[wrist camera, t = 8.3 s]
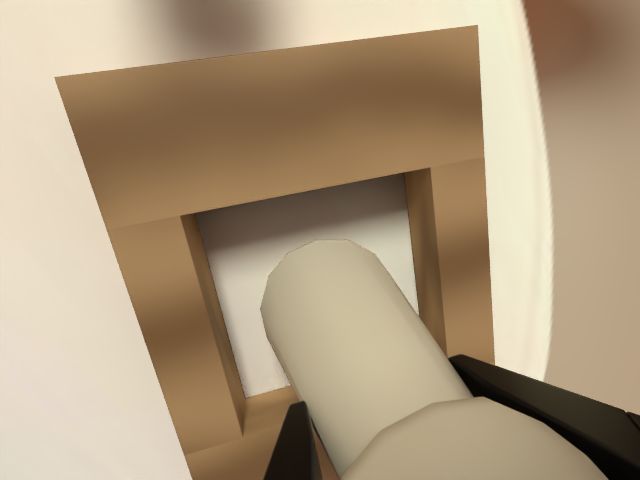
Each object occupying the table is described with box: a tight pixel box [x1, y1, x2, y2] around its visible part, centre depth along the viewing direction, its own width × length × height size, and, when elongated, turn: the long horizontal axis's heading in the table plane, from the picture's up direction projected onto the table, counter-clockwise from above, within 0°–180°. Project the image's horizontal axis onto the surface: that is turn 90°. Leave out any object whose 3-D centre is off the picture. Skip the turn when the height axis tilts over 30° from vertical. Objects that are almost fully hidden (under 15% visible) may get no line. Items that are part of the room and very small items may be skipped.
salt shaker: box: [260, 240, 609, 480], centre depth 9 cm, size 6×6×13 cm
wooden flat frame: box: [54, 25, 495, 480], centre depth 15 cm, size 20×15×2 cm
